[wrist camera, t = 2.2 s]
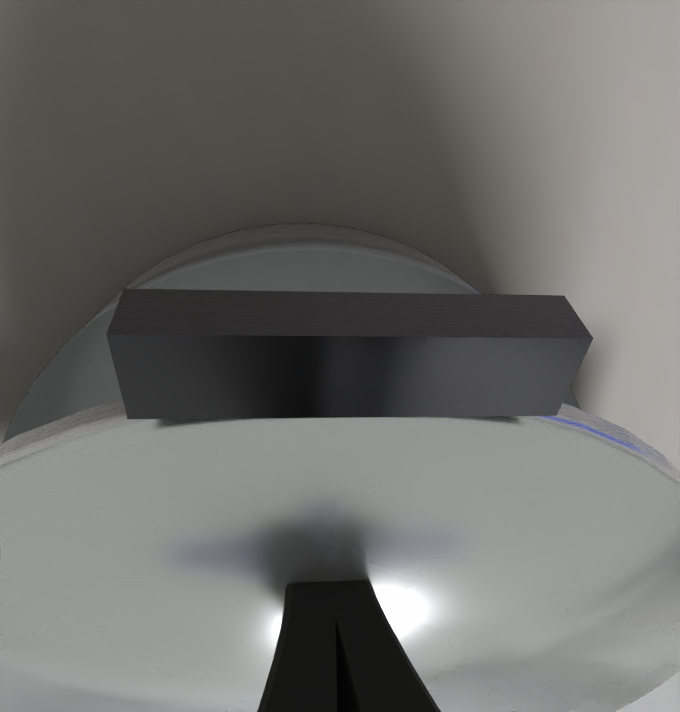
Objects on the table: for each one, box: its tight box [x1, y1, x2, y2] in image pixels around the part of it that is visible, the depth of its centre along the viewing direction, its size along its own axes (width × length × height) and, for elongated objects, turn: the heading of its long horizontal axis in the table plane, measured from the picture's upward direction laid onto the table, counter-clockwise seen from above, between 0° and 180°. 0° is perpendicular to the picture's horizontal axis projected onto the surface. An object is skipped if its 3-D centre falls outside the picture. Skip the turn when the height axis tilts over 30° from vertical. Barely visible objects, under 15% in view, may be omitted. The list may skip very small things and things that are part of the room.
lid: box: [0, 288, 680, 712], centre depth 11 cm, size 18×17×2 cm
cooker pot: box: [3, 223, 581, 443], centre depth 17 cm, size 18×20×4 cm
